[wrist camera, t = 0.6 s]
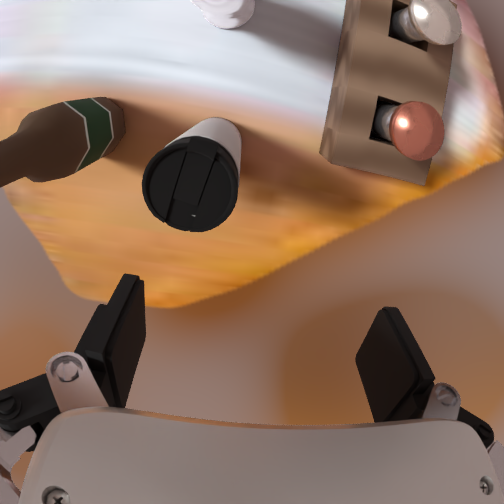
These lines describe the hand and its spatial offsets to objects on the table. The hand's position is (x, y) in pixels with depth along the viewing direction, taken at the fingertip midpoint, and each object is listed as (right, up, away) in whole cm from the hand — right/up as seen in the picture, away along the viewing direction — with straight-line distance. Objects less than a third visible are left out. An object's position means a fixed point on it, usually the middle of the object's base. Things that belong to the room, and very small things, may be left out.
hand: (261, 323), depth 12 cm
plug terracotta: (+15, +18, +20) cm, 30 cm away
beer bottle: (-19, +19, +23) cm, 35 cm away
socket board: (+16, +24, +20) cm, 35 cm away
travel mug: (-5, +16, +25) cm, 30 cm away
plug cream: (+17, +28, +14) cm, 35 cm away
